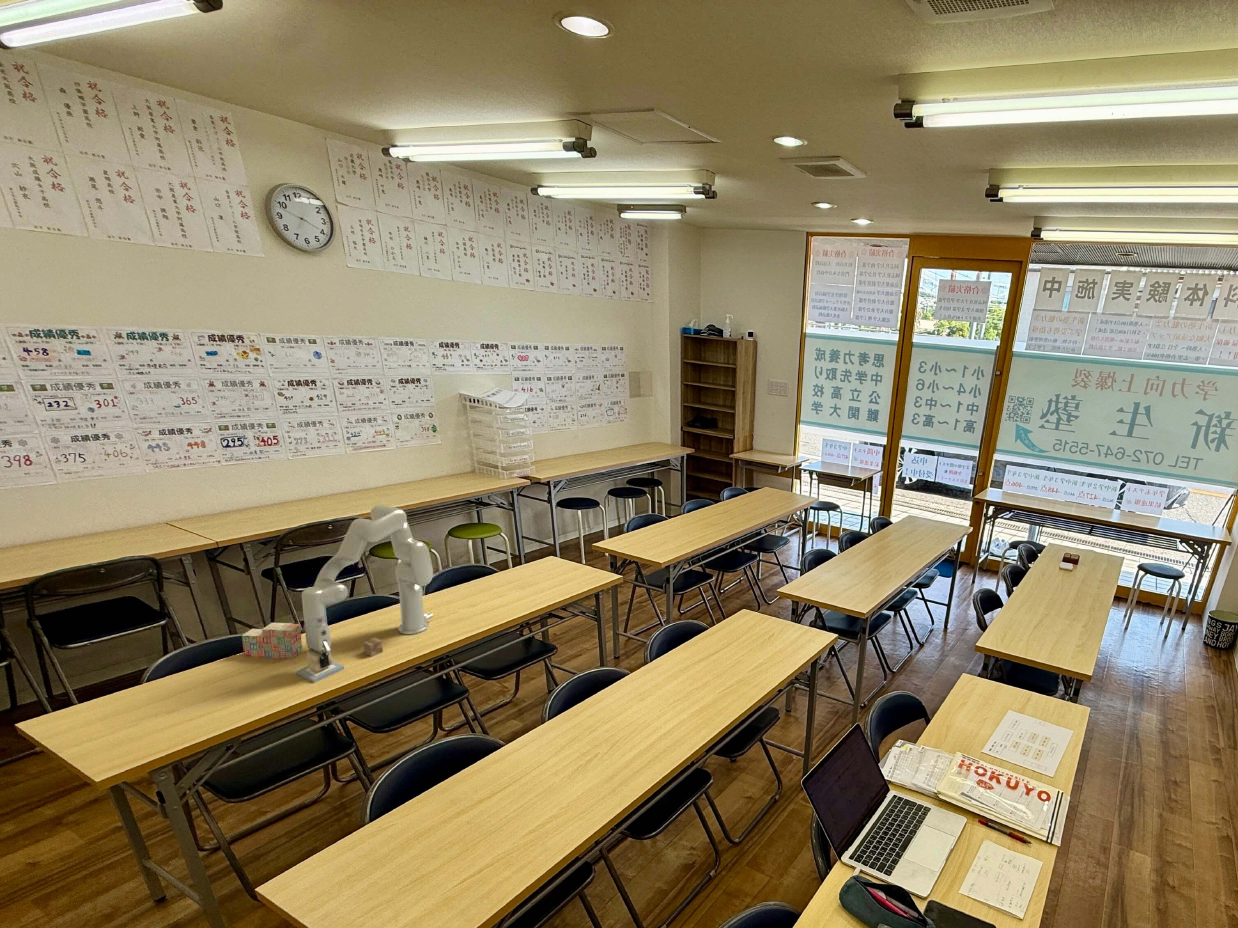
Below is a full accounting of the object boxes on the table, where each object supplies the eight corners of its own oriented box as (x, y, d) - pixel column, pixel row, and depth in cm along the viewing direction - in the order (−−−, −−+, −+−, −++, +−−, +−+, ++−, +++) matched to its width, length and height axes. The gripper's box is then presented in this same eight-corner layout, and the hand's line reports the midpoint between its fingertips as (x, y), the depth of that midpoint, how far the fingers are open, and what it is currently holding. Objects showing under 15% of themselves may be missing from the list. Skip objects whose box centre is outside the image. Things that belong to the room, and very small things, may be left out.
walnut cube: (375, 648, 241) (374, 637, 240) (382, 651, 238) (381, 640, 238) (364, 653, 237) (363, 642, 236) (371, 656, 234) (370, 645, 233)
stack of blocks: (243, 656, 235) (240, 628, 233) (254, 649, 242) (251, 621, 239) (293, 658, 233) (290, 630, 231) (303, 651, 240) (300, 623, 237)
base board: (327, 660, 232) (326, 657, 232) (344, 668, 225) (344, 665, 225) (296, 673, 222) (296, 670, 222) (313, 682, 215) (313, 679, 215)
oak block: (323, 660, 227) (322, 646, 226) (332, 664, 224) (330, 650, 223) (308, 666, 222) (306, 652, 221) (316, 671, 219) (315, 656, 218)
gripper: (337, 621, 218) (342, 666, 221) (313, 611, 228) (317, 654, 231) (318, 629, 212) (322, 674, 215) (293, 618, 222) (298, 662, 225)
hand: (320, 663), depth 223 cm, fingers closed on oak block, 6 cm apart
